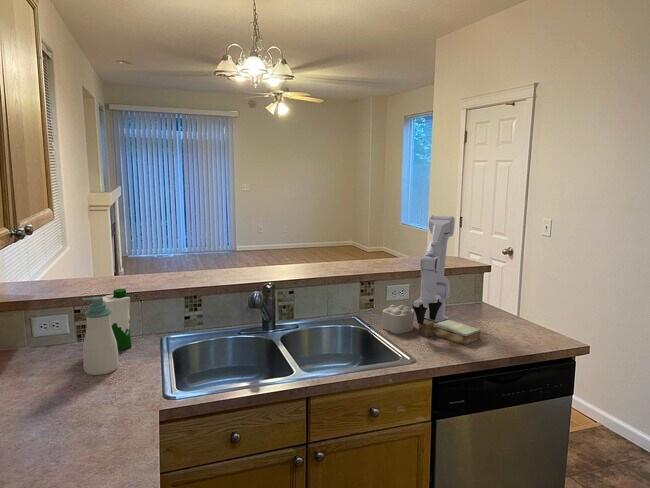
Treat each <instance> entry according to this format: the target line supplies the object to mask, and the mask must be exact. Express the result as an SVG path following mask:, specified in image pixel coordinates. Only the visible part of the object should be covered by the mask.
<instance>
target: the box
mask: <svg viewBox="0 0 650 488" xmlns="http://www.w3.org/2000/svg"><path fill="white" fill-rule="evenodd" d="M433 335H434V336H435V337H439V338H442V339H445V340H448V341H451V342H454V343H457V344H460V345H463V346H468V345H469V344H471V343H474V342H476V341H478V340H480V338H481V331H480V332H477V333H474V334H471V335H469V336H463V335H460V334H457V333H454V332H450V331H447V330H444V329H441V328H438V327H435V326H434V328H433ZM433 335H432V336H433Z"/></svg>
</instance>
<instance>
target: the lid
mask: <svg viewBox="0 0 650 488" xmlns="http://www.w3.org/2000/svg"><path fill="white" fill-rule="evenodd" d="M434 327H438V328H441V329H444V330H447V331H450V332H454V333H457V334H460V335H463V336H469V335H471V334H474V333H477V332H480V333H481V328H477V327H474V326H471V325H469V324H465V323H461V322H458V321H456V320H452V319H446V320H443V321H440V322H436V323H435V322H434Z"/></svg>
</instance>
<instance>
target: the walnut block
mask: <svg viewBox="0 0 650 488" xmlns="http://www.w3.org/2000/svg"><path fill="white" fill-rule="evenodd" d="M434 324H435V321H432V320H429V319H424V323H423V324H419V323H418V329H417V330H418V332H417V334H418V335H420V336H423V337H425V338H428V337H430V336H433V328H434V327H435V326H434Z"/></svg>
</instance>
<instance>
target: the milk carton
mask: <svg viewBox="0 0 650 488" xmlns="http://www.w3.org/2000/svg"><path fill="white" fill-rule="evenodd" d="M112 293H113V294H108V295H105V296H102V297H103V302H104V303H106V308H108V309H110V310H111V311H112V312H111V313H110V321H111V327H112V330H113V333H114V336H115V339H116V341H117V348H118V352H119V351H123V350H127V349H131V348H132V335H131V333H132V332H131V320H130V319H131V317H130V306H131V297H130V296H128V295H127V289H126V288H125V289H124V288H117V289H114V290H113V291H112Z"/></svg>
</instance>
